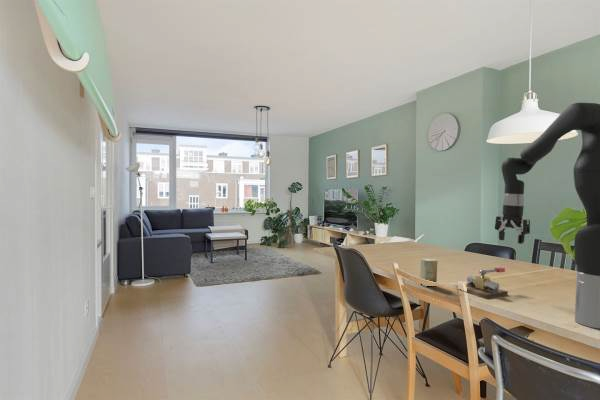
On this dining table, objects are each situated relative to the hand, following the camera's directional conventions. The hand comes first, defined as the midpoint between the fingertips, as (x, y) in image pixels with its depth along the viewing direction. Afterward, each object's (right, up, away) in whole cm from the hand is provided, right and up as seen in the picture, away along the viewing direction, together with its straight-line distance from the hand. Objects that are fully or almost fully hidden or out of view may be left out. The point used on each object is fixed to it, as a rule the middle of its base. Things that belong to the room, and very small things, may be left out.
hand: (510, 241), depth 144 cm
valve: (-12, -21, +1) cm, 24 cm away
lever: (-6, -14, +3) cm, 16 cm away
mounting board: (-11, -22, +2) cm, 25 cm away
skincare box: (-32, -22, +11) cm, 40 cm away
